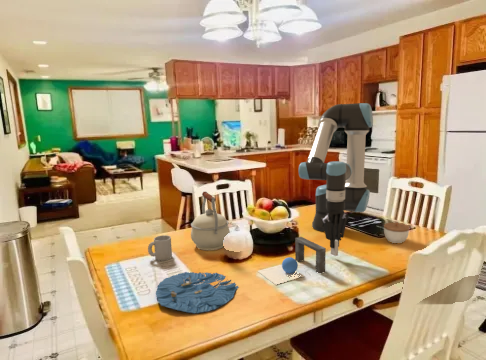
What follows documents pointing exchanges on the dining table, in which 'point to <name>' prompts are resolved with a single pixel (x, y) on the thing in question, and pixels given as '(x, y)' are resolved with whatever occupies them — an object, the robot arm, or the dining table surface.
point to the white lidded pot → (396, 232)
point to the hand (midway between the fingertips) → (334, 254)
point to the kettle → (209, 227)
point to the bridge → (319, 249)
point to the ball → (289, 265)
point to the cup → (161, 247)
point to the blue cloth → (195, 292)
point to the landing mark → (277, 274)
